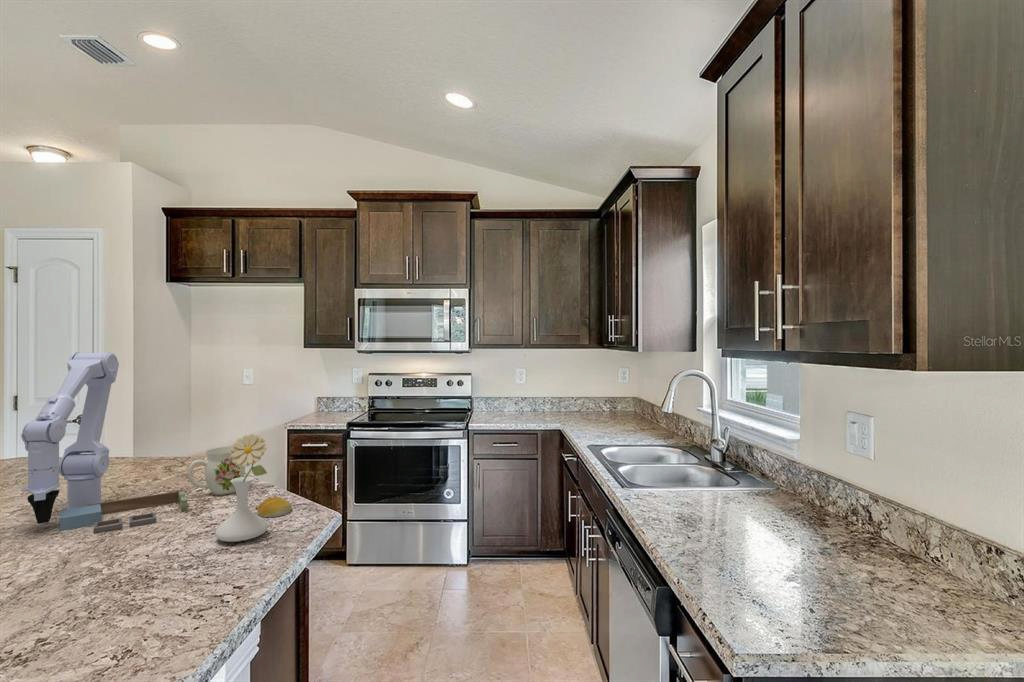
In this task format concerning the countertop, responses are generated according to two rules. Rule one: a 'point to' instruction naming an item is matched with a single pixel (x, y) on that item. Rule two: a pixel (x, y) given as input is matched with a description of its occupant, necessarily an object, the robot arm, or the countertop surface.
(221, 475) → the pitcher
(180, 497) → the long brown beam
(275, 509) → the bread roll
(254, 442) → the flower in vase
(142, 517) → the grey double frame
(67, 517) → the slate block
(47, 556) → the countertop surface
